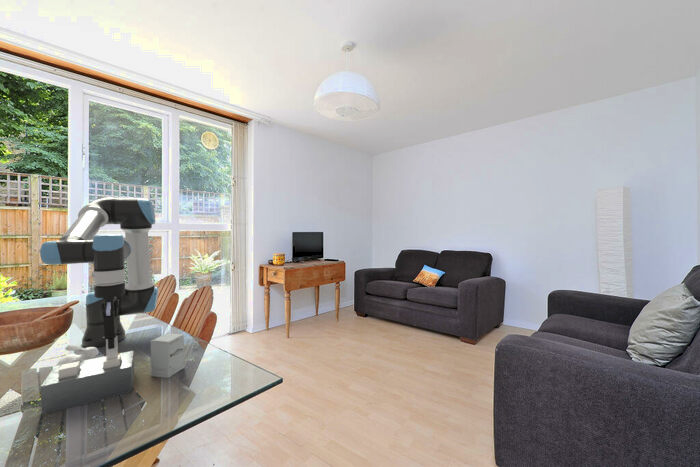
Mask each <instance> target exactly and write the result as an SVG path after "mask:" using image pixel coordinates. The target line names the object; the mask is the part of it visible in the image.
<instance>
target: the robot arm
mask: <svg viewBox="0 0 700 467" xmlns="http://www.w3.org/2000/svg"><path fill="white" fill-rule="evenodd" d="M154 208H155V207H154V205H153V203H152V201H151V199H147V198H138V197H104V198H100V199H97V200H93V201H91V202H89V203H87V204H86V205H84V206H83V207H82V208H81V209H80V210H79V212H78V213H77V219H76V220H75V221H74V222H73V223H72V224H71V226H70V227H69V228H68V229H67V230H66V232H65V233H63V235H62V236H61V237H60V238H59V240H50V241H49V240H48V241H44V242H43V243H42V244H41V246H40V249H39V250H40V251H39V254H40V256H39V257H40V260H41V262H42V263H43V264H45V265H59V266H61V265H70V264H71V265H72V264H73V265H74V264H92V263H93V273H92V274H91V275H90V276H91V278H94V279H93V281H94V285H95V286H93V287H94V288H93V290H94V291H91V292H89V293H88V294H86V296H85V297H86V298H85V303H84V304H85V311H86V313H85V314H86V328H85V330H84V334H83V335H82V338H81V346H82V347H83V348H84V347H85V348H87V347H95V348H97V347H103V346H105V352H106V353H105V354H106V355H105V356H106V359H111V358H116V357H118V353H119V351H118V350H119V349H118V342H120V341H122V340H124V339H125V338H126V330H125V329H124V326H123V324H122V322H121V316H122V317H123V316H129V315H138V314H139V315H140V314H147V313H151V312H154V311H155V310H156V308H157V302H158V297H159V287H158V286H155V282H153V281H152V280H151V267H150V266H151V265H150V264H151V262H150V247H149V246H150V245H149V244H150V242H149V231H150V230H151V229H153V226H152V225H155V224H156V215H155V210H154ZM106 225H120V230H122V231H123V232H124V235H125V236H123V235H122V234H115V233H114V234H97V233H98V232H99V230H100V229H101V228H103V227H104V226H106ZM124 237H125V240H124ZM125 260H126V269H125ZM126 272H127V273H126ZM126 275H127V283H126V284H125V281H126Z"/></svg>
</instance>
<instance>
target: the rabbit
mask: <svg viewBox="0 0 700 467" xmlns="http://www.w3.org/2000/svg"><path fill="white" fill-rule="evenodd" d="M64 349H65V351H70V352H73V353H71V354H67V355H65V356H63V357H62V358H61V359H59V361H58V362H57V364H56V365H55V366H58V365H62V364H67V363H71V362H73V361H84V360H89V359H94V358H95V357H96V356H98V355H99V350H98V348H97V347H85V348H84V347H81V346H78V345H74V344H68V345H66V347H65V348H64Z"/></svg>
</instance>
